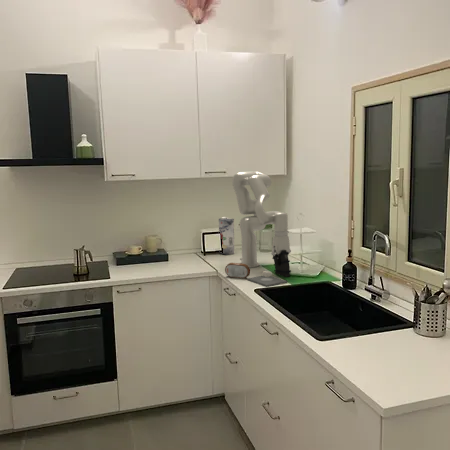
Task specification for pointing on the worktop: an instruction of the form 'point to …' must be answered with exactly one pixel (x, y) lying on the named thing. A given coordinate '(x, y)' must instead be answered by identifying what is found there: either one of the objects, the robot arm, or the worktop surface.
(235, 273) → the tin
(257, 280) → the mat
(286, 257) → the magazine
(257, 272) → the worktop surface
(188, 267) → the worktop surface
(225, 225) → the juice carton
